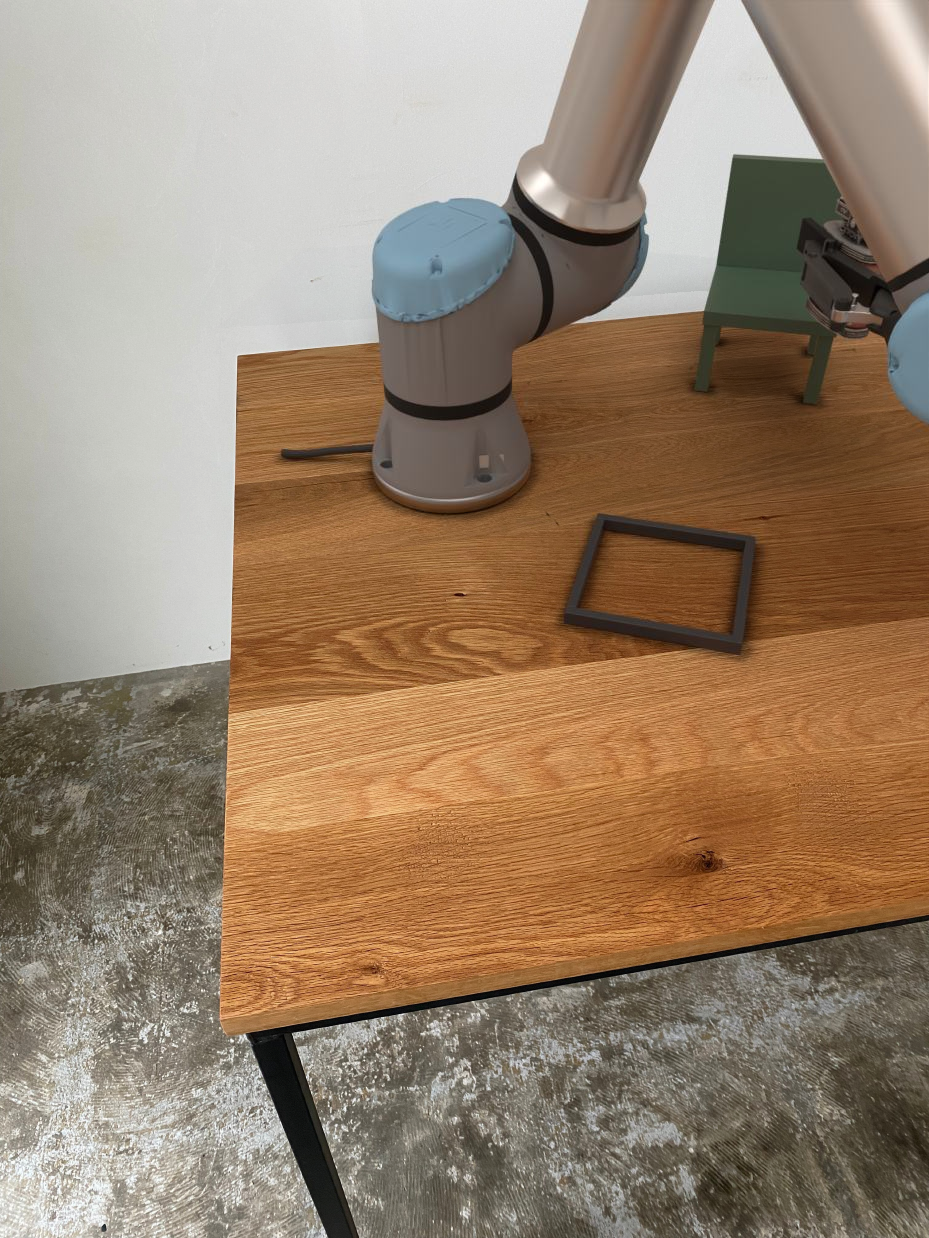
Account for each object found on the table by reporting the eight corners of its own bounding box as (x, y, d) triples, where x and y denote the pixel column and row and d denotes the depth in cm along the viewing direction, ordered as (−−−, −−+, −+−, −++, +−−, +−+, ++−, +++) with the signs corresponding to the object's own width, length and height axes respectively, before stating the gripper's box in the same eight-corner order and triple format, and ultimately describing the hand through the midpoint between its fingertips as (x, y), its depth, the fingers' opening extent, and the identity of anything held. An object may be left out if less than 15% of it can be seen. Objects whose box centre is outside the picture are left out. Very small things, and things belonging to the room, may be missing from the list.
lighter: (877, 336, 82) (909, 220, 76) (842, 341, 82) (871, 225, 75) (830, 299, 88) (856, 188, 81) (797, 304, 88) (821, 193, 81)
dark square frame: (563, 623, 74) (564, 612, 73) (596, 523, 83) (597, 512, 83) (740, 655, 71) (742, 643, 70) (753, 547, 80) (756, 536, 79)
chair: (692, 391, 100) (720, 196, 87) (705, 337, 109) (733, 154, 96) (818, 406, 97) (869, 206, 83) (822, 349, 106) (867, 161, 93)
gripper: (839, 404, 70) (731, 279, 87) (1048, 383, 71) (900, 264, 88) (865, 308, 65) (744, 195, 82) (1090, 286, 66) (924, 180, 83)
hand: (825, 231), depth 85 cm, fingers closed on lighter, 3 cm apart
